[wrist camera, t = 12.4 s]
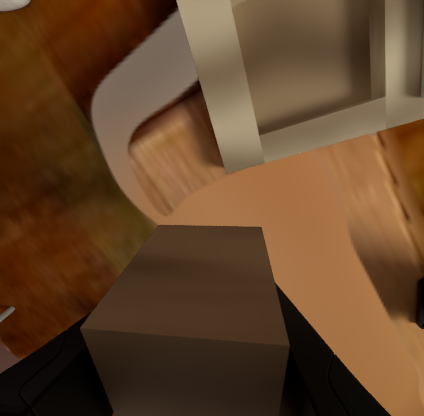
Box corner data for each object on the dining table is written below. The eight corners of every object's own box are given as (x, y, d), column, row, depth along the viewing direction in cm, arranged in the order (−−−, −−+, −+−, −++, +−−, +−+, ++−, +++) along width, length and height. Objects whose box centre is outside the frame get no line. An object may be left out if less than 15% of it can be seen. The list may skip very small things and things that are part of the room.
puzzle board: (559, 73, 13) (612, 65, 11) (227, 168, 18) (226, 173, 16) (635, -232, 9) (737, -322, 7) (178, -4, 14) (169, -23, 12)
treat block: (256, 306, 10) (272, 452, 6) (170, 300, 11) (121, 431, 6) (261, 226, 9) (289, 345, 4) (158, 225, 9) (79, 328, 5)
